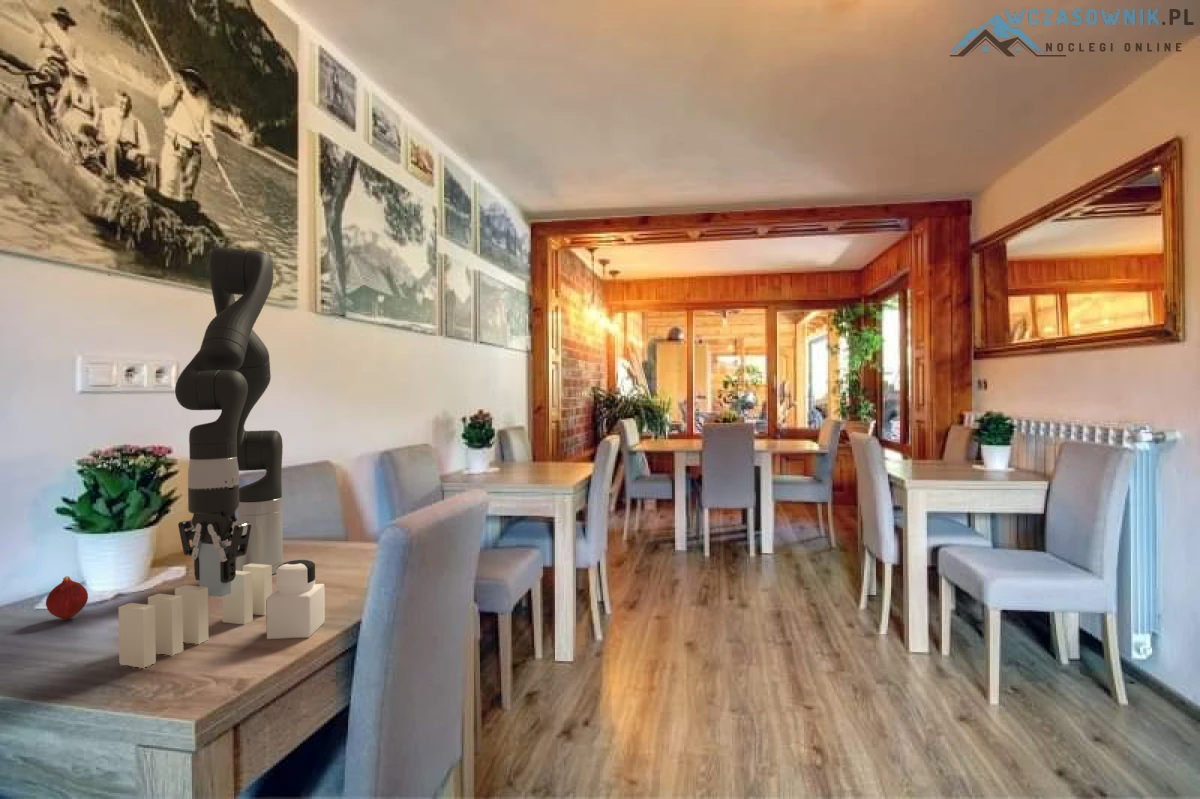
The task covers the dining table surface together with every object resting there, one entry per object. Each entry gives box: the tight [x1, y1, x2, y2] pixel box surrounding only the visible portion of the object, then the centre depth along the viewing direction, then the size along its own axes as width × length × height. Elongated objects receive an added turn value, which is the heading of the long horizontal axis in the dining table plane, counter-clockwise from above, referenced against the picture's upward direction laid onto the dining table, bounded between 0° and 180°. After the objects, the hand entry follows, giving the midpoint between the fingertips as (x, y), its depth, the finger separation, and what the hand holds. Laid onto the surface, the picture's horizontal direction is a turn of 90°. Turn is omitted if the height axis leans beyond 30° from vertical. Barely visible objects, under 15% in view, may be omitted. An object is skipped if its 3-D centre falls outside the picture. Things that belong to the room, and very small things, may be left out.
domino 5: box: [221, 571, 254, 626], centre depth 109 cm, size 5×2×9 cm, turn 75°
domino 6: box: [243, 563, 273, 617], centre depth 113 cm, size 5×2×9 cm, turn 75°
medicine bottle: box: [265, 559, 326, 640], centre depth 104 cm, size 7×7×12 cm
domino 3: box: [174, 584, 210, 645], centre depth 100 cm, size 5×2×9 cm, turn 75°
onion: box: [45, 575, 89, 621], centre depth 110 cm, size 6×6×8 cm
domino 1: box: [118, 602, 157, 667], centre depth 91 cm, size 5×2×9 cm, turn 75°
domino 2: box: [147, 593, 184, 656], centre depth 96 cm, size 5×2×9 cm, turn 75°
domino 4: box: [198, 541, 231, 598], centre depth 104 cm, size 5×2×9 cm, turn 75°
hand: (215, 580), depth 104 cm, fingers closed on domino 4, 5 cm apart
